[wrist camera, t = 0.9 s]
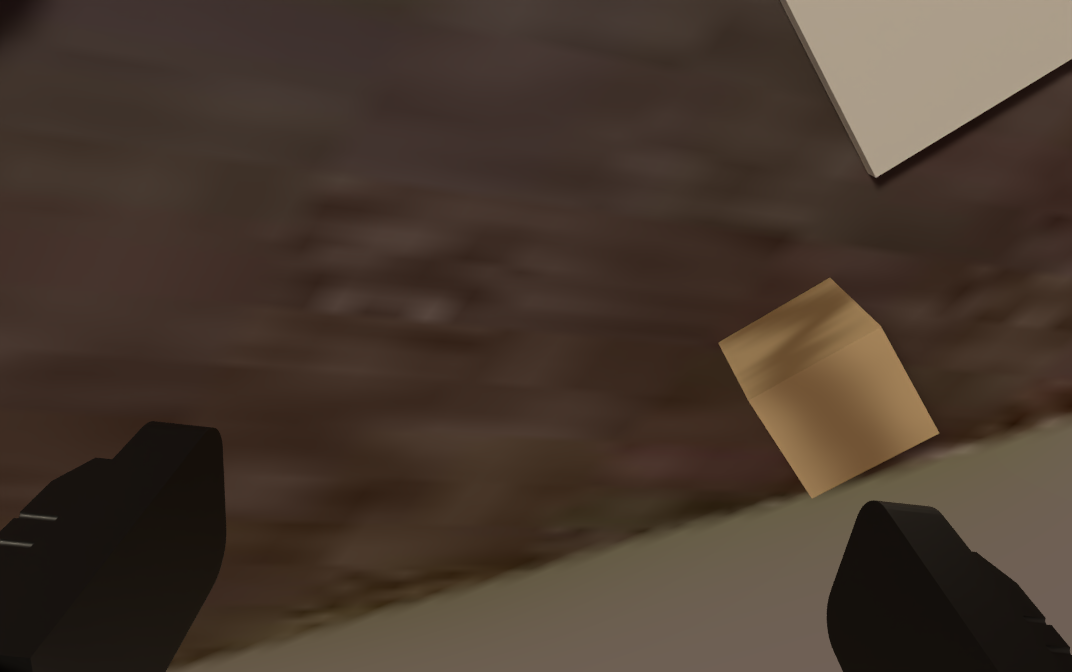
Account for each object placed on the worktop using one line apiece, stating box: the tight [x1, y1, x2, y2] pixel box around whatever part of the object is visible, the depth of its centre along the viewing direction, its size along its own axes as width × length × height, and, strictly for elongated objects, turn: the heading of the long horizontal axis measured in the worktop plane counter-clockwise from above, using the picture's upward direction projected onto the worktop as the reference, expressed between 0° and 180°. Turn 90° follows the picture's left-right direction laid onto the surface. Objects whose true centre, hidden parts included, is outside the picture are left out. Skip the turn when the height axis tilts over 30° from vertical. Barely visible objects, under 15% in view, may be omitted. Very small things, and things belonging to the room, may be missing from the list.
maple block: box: [719, 278, 939, 498], centre depth 32 cm, size 6×6×6 cm
